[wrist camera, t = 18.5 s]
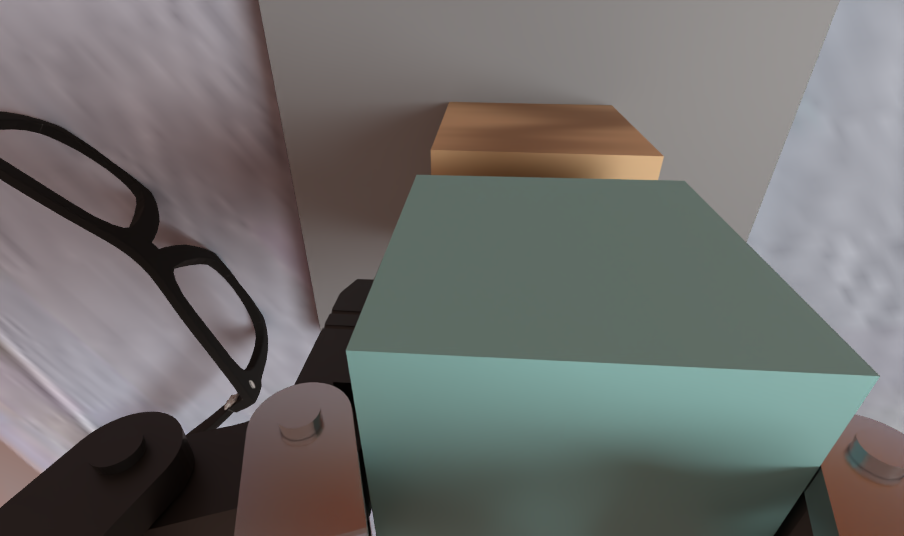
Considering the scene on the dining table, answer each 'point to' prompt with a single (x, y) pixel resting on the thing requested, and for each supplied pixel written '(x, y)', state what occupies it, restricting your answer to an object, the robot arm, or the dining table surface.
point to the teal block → (588, 366)
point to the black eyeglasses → (150, 260)
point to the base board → (524, 96)
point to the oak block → (541, 142)
